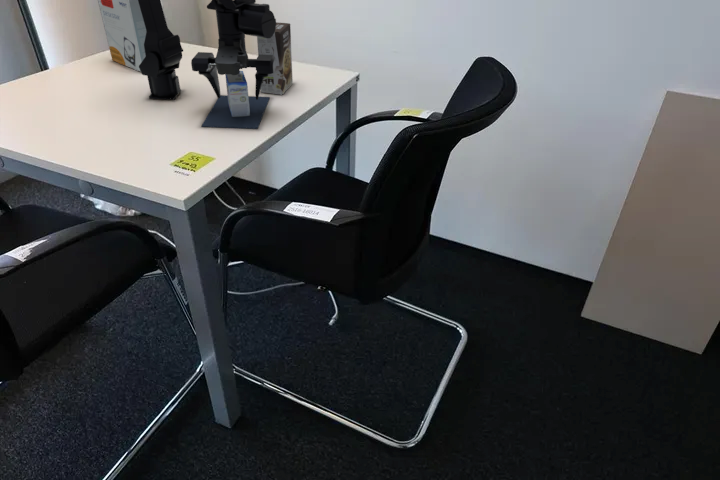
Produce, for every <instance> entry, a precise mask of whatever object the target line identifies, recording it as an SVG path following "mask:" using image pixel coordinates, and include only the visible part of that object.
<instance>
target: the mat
mask: <svg viewBox="0 0 720 480" xmlns="http://www.w3.org/2000/svg"><path fill="white" fill-rule="evenodd" d="M248 98H249V109H250V116H243V117H232V115H231V112H230V108H229V105H228V96H227V95H221V94H220V98H218V97H217V99H216V100H215V103H214V104H213V105H212V108H211V109H210V110H209V112H208V113H207V116H206V118H205V119H204V121H203V122H202V124H201V127H200V128H219V129H244V130H245V129H247V130H259V126H260V124H261V121H262V119H263V116H264V114H265V111H266V109H267V106H268V104H269V101H270V99H271V97H270V96H259V98H258V100H256V96H250V95H248Z"/></svg>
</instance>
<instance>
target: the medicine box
mask: <svg viewBox="0 0 720 480" xmlns="http://www.w3.org/2000/svg"><path fill="white" fill-rule="evenodd" d="M224 75H225V82H226V83H225V86H226V96H228V105H229V108H230V112H231V115H232V117H243V116H250V109H249V98H248V96H249V88H248V87H249V86H248V81H247V79H246V76H245V73H244V70H240V72H239V74H238V75H231V74H224Z"/></svg>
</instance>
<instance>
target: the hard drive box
mask: <svg viewBox="0 0 720 480" xmlns="http://www.w3.org/2000/svg"><path fill="white" fill-rule="evenodd" d="M97 3H98V7H99V11H100V16H101V19H102V23H103V28H104V32H105V33H104V34H105V36H106V40H107V44H108V45H107V46H108V49H109V53H110V58H111V61H113V62H116V63H117V64H120V65H123V66H124V67H125V66H126V67H127V68H130V69H132V70H134V71H137V72H140V73H141V71H140V69H139V65H140V64H141V62H142V61H143V59H144V58H145V57H146V55H145V49H144V41H145V37H146V27H145V24H144V20H143V16H142V13H141V9H140V6H139V2H138V0H97Z"/></svg>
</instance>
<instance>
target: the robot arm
mask: <svg viewBox="0 0 720 480" xmlns="http://www.w3.org/2000/svg"><path fill="white" fill-rule="evenodd" d="M138 2H139V6H140V9H141V13H142V16H143V20H144V24H145V27H146V37H145V41H144V49H145V55H146V57H145V58H144V59H143V61H142V62H141V64H140V65H139V69H140V71H141V72H140V71H139V72H140V73H141V75H142V76H146V77H147V81H148V87H149V91H150V95H148V99H150V100H171V101H172V100H175V99H176V98H177V96H178V95H179V94H180V93H181V91H182V89H181V86H180V79H179V76H178V75H177V73H176V70H177V69H179V68H180V64H181V60H182V59H183V52H184V48H183V47H182V44H181V38H180V36H179V34H174V33H173V32H172V31H171V30H170V29H169V27H168V23H167V20H166V19H167V18H166V16H165V12H164V7H163V5H162V0H138ZM256 2H257V0H211V1H210V2H209V3H208V4H207V5H206V9H207V10H212V11H215V17H216V24H217V32H218V39H217V40H218V41H217V42H218V48H217V53H216V56H215V55H214V53H213V52H210V51H209V52H208V51H207V52H205V51H204V52H203V51H197V53H196V54H195V55H194V56H193V58H192V59H191V62H190V64H191V70H192V71H193V72H197V73H198V75H202V76H203V77H205V78H206V79H207V81H208V82H209V84H210V85H211V88H212V89H213V91H214V93H215V95H216V97H217V99H218V98H220V95H221V87H220V81H219V80H220V79H219V75H220V76H223V75H225V74H231V75H238V74H239V72H240V71H241V70H243V69H248V68H254V69H255V71H256V72H255V74H254V77H255V78H254V79H255V92H254V94H255V97H256V100H258V98H259V97H260V94H261V86H262V82H263V79H264V77H268V76H269V74H272V73H274V71H275V68H276V58H275V56H274V55H263V54H259V55H258V54H257V57H256V58H249V55H248V52H247V48H246V36H252V37H256V38H257V37H262V38H271V37H272V36H273V34H274V32H275V29H276V22H277V18H275V15H274V13H273V11H272V10H271V9H270V8H271V7H270V4H269V3H256Z"/></svg>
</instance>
